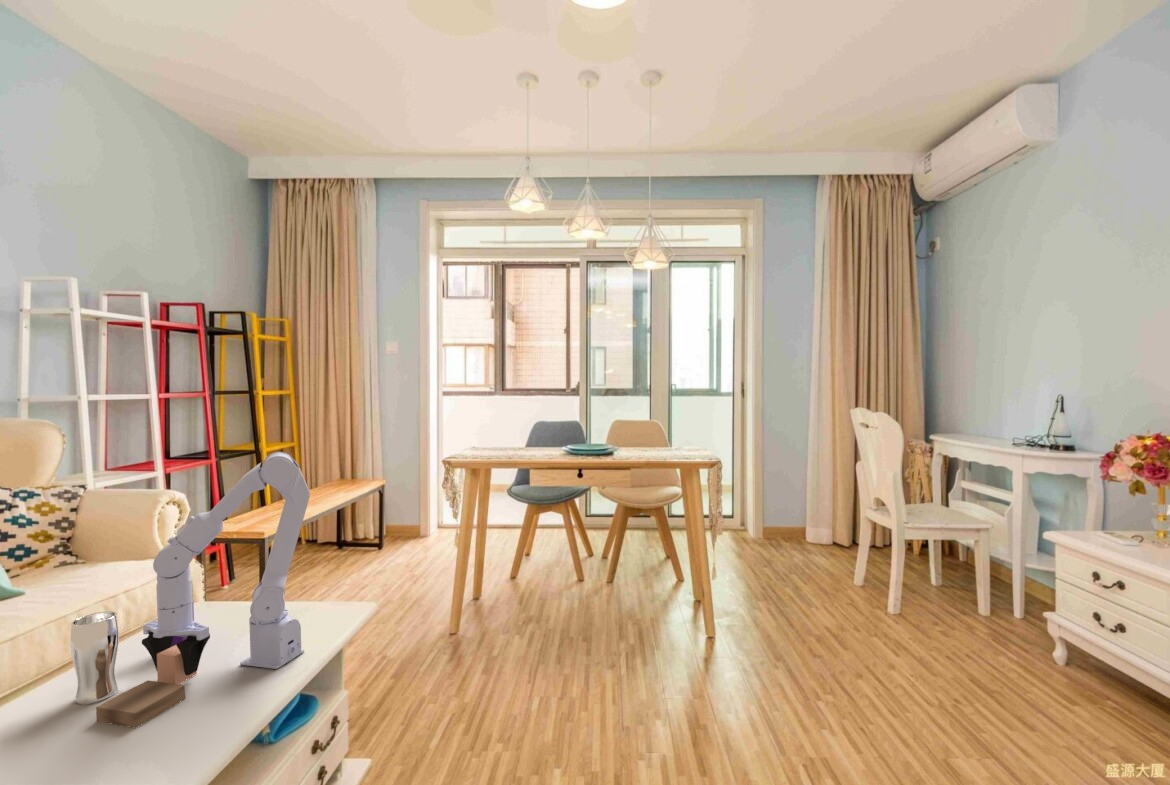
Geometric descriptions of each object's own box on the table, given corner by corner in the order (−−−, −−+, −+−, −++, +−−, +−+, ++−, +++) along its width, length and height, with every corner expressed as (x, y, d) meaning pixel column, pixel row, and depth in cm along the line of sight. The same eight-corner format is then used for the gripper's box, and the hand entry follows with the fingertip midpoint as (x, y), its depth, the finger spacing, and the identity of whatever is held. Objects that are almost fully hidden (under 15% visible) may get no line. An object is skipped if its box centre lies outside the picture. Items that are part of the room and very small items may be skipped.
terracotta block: (196, 674, 113) (195, 645, 113) (175, 686, 109) (174, 656, 109) (179, 672, 114) (178, 643, 114) (157, 684, 110) (156, 654, 110)
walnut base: (185, 701, 104) (184, 685, 104) (135, 730, 95) (135, 713, 95) (148, 695, 106) (147, 680, 106) (96, 723, 98) (96, 707, 98)
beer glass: (129, 689, 108) (126, 612, 108) (87, 709, 102) (84, 627, 101) (105, 683, 110) (103, 609, 110) (63, 702, 104) (60, 623, 104)
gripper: (126, 609, 109) (128, 677, 109) (184, 614, 106) (187, 685, 106) (161, 595, 116) (163, 660, 116) (217, 600, 113) (219, 667, 113)
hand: (177, 671), depth 112 cm, fingers open, 7 cm apart
